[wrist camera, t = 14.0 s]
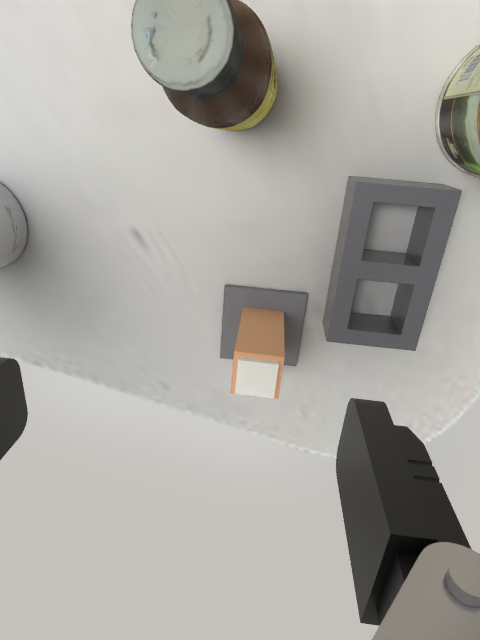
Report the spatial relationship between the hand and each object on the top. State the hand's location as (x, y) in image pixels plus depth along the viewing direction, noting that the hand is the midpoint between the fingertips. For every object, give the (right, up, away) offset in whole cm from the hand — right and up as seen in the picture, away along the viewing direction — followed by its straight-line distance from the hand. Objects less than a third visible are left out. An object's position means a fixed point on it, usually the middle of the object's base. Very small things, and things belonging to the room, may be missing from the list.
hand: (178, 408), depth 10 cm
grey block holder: (+14, +8, +28) cm, 33 cm away
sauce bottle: (+1, +21, +24) cm, 32 cm away
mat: (+4, +2, +32) cm, 32 cm away
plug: (+4, +1, +32) cm, 32 cm away
